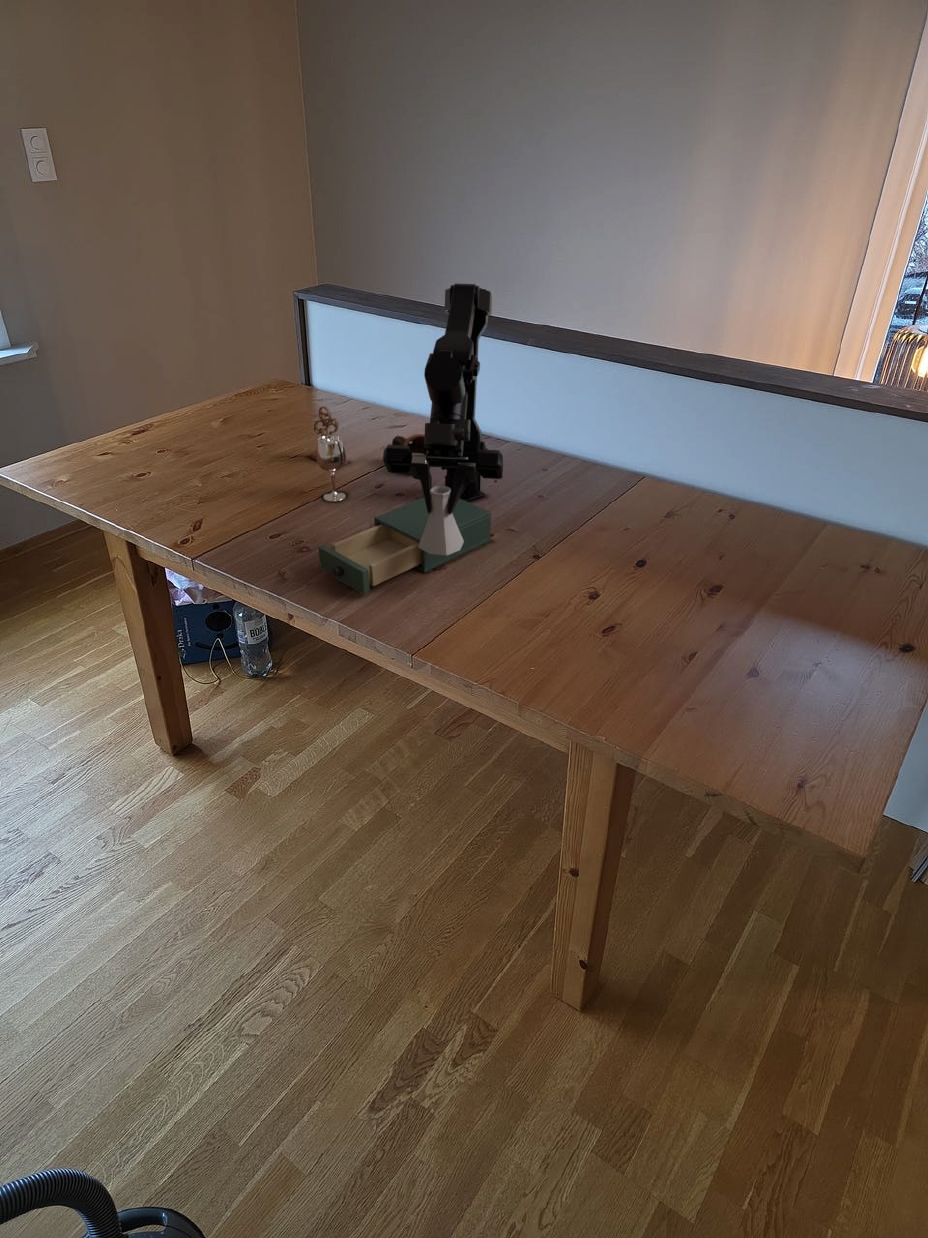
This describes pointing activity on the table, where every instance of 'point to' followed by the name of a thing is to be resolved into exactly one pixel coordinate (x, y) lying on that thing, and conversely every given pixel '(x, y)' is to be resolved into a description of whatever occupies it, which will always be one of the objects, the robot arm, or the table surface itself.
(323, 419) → the brown looped piece
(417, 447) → the pottery mug
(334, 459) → the wineglass
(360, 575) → the drawer
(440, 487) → the flask
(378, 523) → the cabinet
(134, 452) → the table surface
